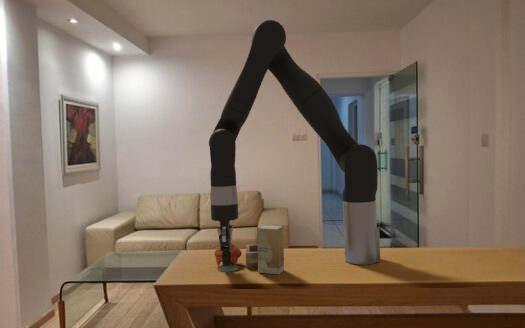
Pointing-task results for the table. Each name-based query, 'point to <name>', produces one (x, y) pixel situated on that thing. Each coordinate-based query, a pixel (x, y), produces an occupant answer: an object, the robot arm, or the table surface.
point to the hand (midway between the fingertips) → (226, 264)
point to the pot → (234, 253)
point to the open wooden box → (252, 256)
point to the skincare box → (270, 249)
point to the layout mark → (228, 268)
